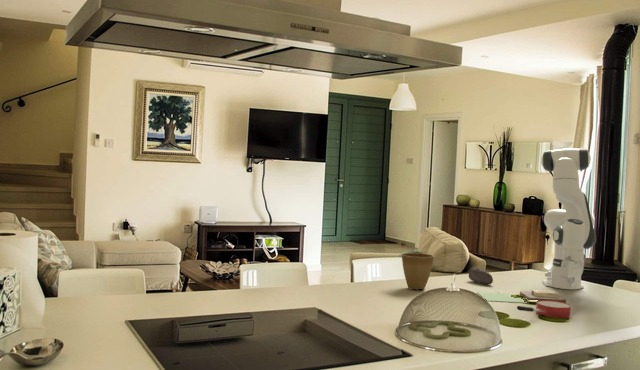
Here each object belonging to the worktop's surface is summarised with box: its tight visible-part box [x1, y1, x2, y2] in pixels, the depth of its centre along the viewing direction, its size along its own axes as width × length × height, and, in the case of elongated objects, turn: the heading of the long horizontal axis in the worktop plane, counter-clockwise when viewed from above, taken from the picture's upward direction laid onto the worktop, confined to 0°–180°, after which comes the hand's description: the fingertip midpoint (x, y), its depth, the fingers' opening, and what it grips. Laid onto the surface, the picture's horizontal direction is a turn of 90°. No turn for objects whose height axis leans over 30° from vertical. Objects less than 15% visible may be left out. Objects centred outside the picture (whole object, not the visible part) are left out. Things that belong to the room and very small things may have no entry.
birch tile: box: [531, 289, 560, 298], centre depth 278 cm, size 6×10×2 cm, turn 88°
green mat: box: [476, 291, 528, 304], centre depth 278 cm, size 18×18×1 cm
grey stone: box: [468, 267, 494, 286], centre depth 313 cm, size 15×5×7 cm, turn 28°
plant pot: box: [401, 252, 435, 290], centre depth 290 cm, size 15×15×16 cm
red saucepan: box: [516, 300, 572, 319], centre depth 243 cm, size 32×13×6 cm, turn 136°
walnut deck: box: [519, 291, 567, 303], centre depth 278 cm, size 14×16×2 cm
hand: (570, 286), depth 277 cm, fingers closed
